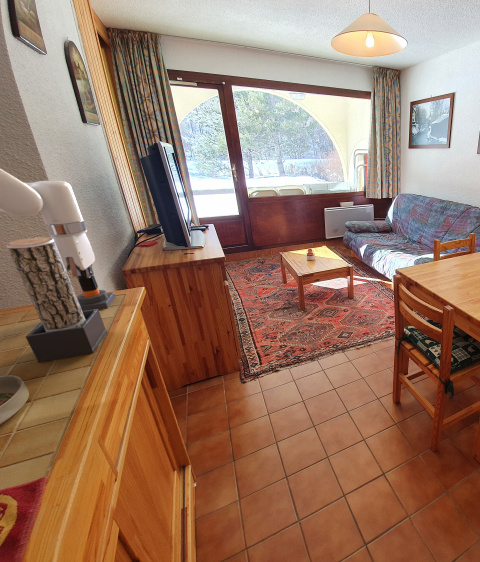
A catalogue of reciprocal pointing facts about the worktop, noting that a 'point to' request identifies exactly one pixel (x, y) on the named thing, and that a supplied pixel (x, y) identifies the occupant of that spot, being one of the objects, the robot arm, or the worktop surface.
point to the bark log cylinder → (47, 282)
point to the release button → (90, 293)
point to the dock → (67, 339)
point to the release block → (96, 301)
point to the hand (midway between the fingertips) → (90, 289)
